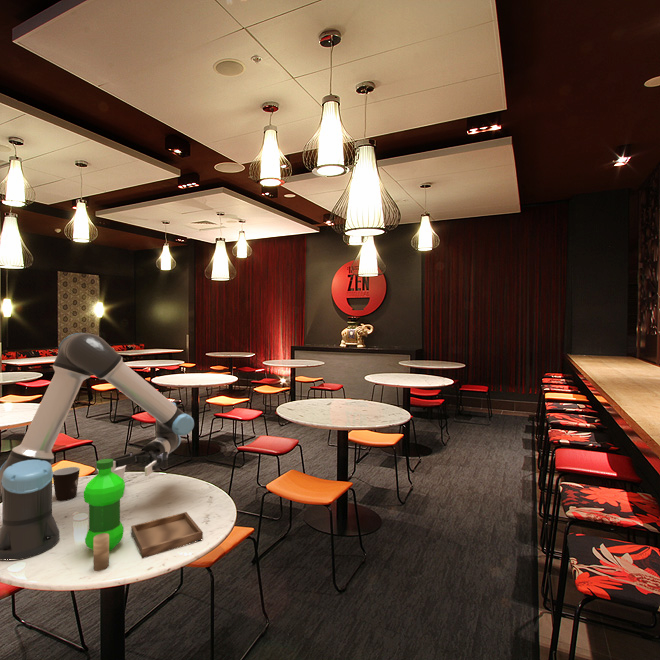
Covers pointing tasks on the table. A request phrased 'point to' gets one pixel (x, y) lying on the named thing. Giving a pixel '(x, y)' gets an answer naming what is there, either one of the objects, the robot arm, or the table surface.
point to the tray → (165, 534)
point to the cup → (118, 471)
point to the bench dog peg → (101, 551)
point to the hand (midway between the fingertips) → (124, 472)
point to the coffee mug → (66, 483)
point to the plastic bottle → (104, 504)
